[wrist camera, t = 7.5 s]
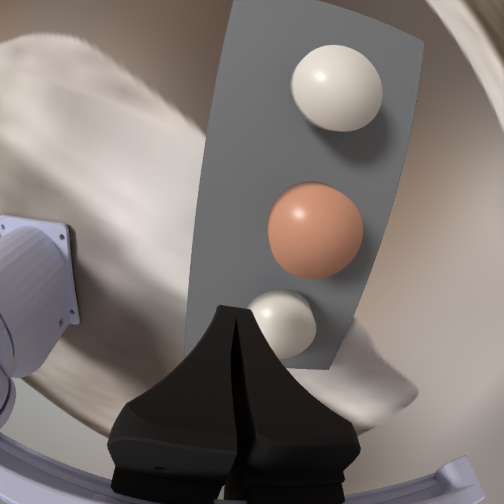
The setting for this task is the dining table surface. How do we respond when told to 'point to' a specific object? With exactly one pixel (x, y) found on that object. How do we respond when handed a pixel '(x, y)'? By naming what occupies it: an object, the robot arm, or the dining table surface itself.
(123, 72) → the dining table surface
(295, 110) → the grey flat board
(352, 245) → the middle button
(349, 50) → the outer button
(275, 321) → the inner button
